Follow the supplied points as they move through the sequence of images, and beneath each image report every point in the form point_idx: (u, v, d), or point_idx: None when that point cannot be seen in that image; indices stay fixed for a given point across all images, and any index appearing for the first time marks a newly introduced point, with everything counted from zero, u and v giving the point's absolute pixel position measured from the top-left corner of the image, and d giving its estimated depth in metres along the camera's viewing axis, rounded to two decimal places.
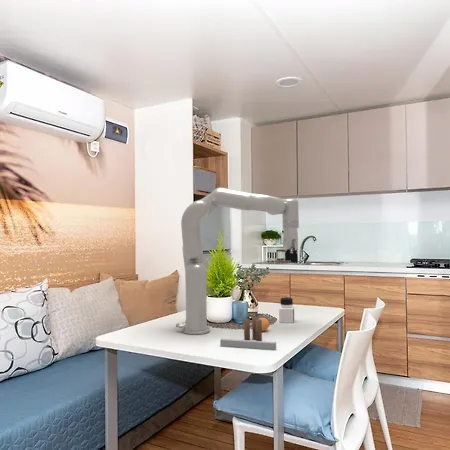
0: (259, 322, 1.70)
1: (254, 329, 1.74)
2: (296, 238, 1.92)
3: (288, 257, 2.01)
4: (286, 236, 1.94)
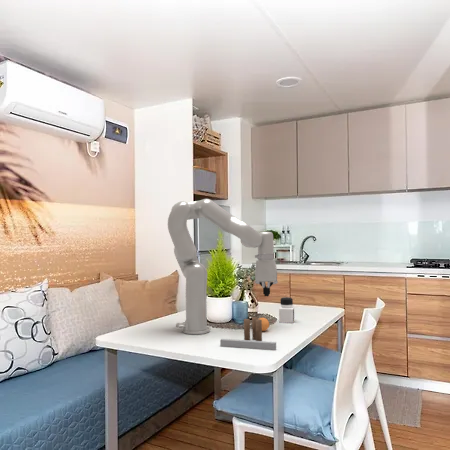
0: (259, 322, 1.70)
1: (254, 329, 1.74)
2: (276, 270, 1.99)
3: None
4: (269, 269, 1.96)
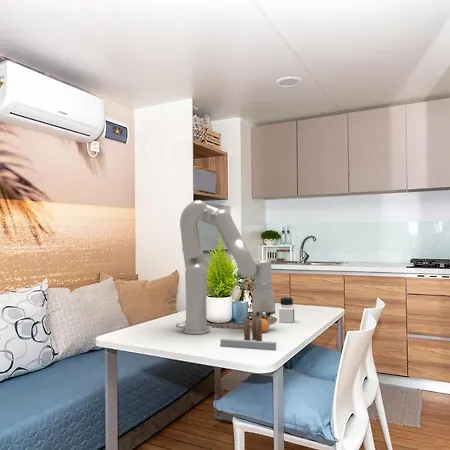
0: (259, 322, 1.70)
1: (254, 329, 1.74)
2: (274, 299, 1.93)
3: None
4: (267, 299, 1.90)
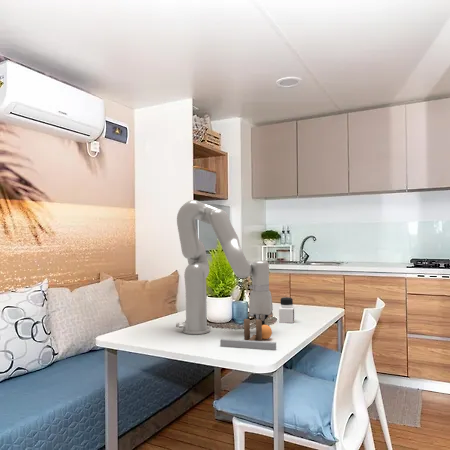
0: (259, 322, 1.70)
1: None
2: None
3: None
4: (264, 301, 1.84)
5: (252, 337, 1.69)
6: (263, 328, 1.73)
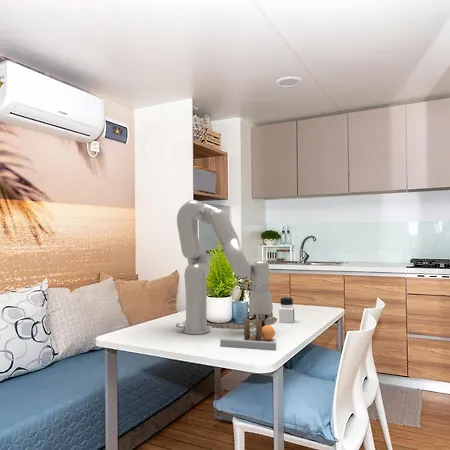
0: (259, 322, 1.70)
1: None
2: None
3: None
4: (264, 301, 1.84)
5: (251, 337, 1.69)
6: (267, 332, 1.71)
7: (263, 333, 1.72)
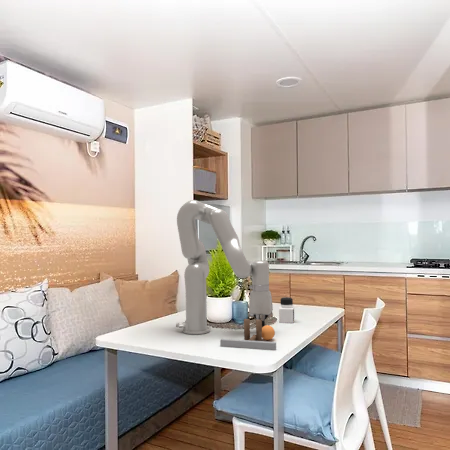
0: (259, 322, 1.70)
1: None
2: None
3: None
4: (264, 301, 1.84)
5: (252, 337, 1.69)
6: (267, 332, 1.71)
7: (263, 333, 1.72)
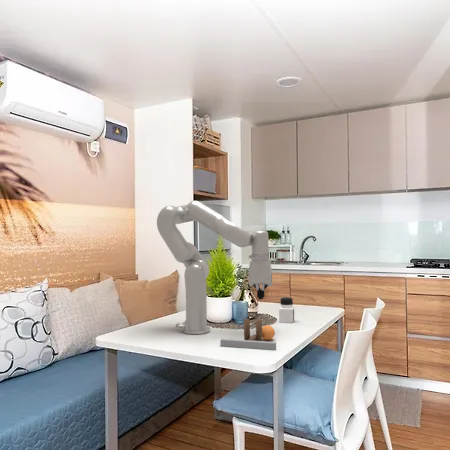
0: (259, 322, 1.70)
1: None
2: (271, 271, 1.87)
3: None
4: (264, 270, 1.84)
5: (251, 337, 1.69)
6: (267, 332, 1.71)
7: (263, 333, 1.72)
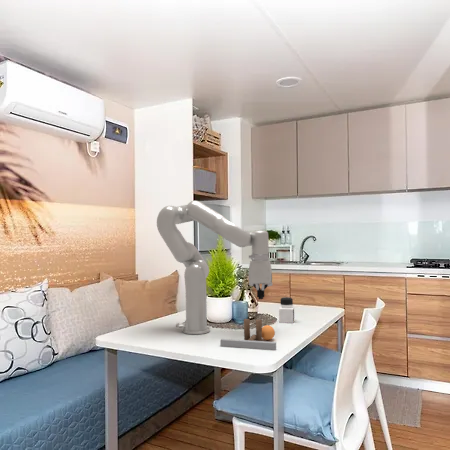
0: (259, 322, 1.70)
1: None
2: (271, 271, 1.87)
3: None
4: (264, 270, 1.84)
5: (251, 337, 1.69)
6: (267, 332, 1.71)
7: (263, 333, 1.72)
